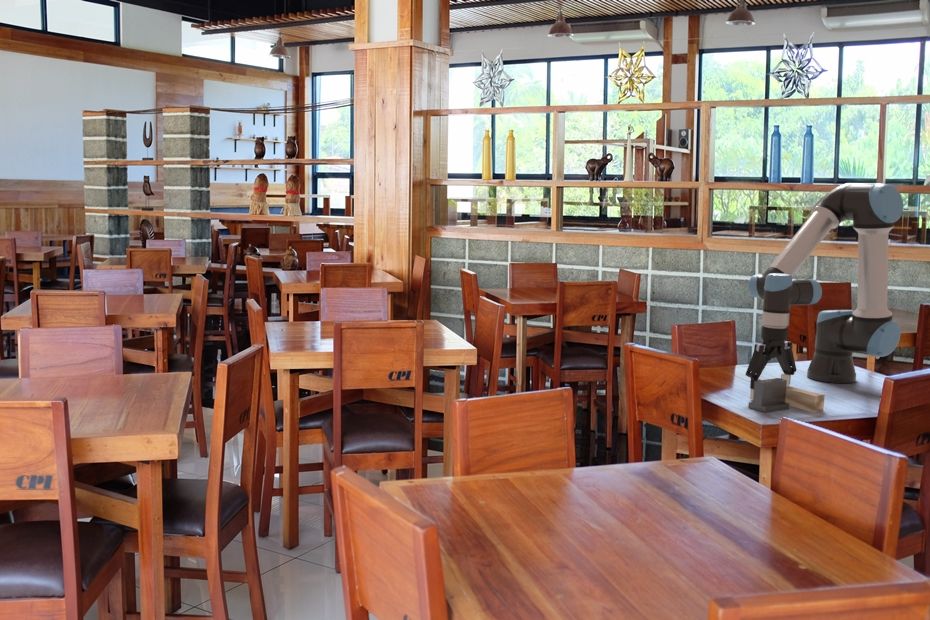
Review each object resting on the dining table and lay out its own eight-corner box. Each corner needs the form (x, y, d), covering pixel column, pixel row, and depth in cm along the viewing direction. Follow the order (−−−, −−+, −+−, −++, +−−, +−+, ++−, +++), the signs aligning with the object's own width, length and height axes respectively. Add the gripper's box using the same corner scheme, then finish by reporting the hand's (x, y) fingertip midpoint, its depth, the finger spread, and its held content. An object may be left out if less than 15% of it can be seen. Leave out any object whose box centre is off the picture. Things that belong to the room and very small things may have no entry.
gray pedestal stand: (771, 404, 263) (774, 376, 262) (789, 408, 258) (791, 381, 257) (748, 407, 257) (750, 380, 256) (765, 412, 252) (767, 384, 251)
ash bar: (759, 395, 275) (760, 379, 274) (823, 411, 257) (824, 394, 256) (750, 396, 272) (752, 380, 272) (814, 413, 254) (815, 395, 254)
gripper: (791, 322, 276) (786, 391, 279) (736, 326, 263) (731, 399, 266) (812, 325, 270) (806, 396, 273) (757, 330, 257) (751, 404, 260)
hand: (769, 397), depth 269 cm, fingers open, 12 cm apart
